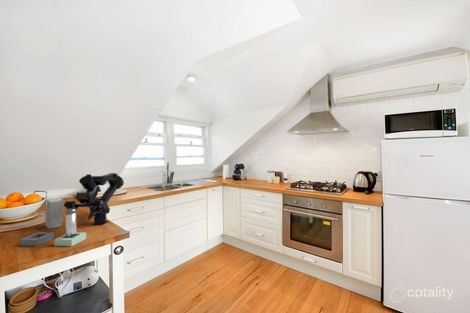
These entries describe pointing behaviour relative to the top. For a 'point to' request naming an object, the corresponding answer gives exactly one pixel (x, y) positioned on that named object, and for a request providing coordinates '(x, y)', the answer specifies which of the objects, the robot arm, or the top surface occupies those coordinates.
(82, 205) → the robot arm
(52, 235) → the charcoal socket
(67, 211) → the steel peg
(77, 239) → the sage socket
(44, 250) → the top surface
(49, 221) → the skincare box
